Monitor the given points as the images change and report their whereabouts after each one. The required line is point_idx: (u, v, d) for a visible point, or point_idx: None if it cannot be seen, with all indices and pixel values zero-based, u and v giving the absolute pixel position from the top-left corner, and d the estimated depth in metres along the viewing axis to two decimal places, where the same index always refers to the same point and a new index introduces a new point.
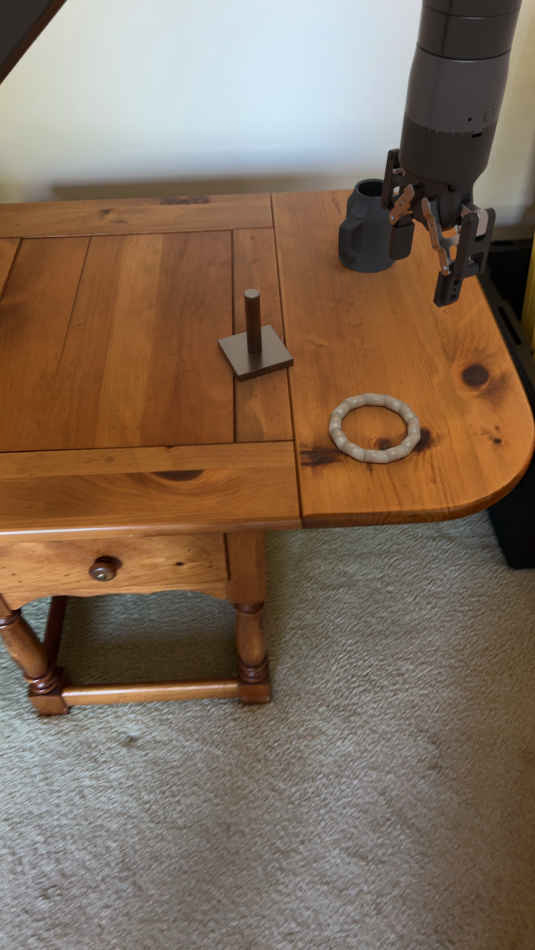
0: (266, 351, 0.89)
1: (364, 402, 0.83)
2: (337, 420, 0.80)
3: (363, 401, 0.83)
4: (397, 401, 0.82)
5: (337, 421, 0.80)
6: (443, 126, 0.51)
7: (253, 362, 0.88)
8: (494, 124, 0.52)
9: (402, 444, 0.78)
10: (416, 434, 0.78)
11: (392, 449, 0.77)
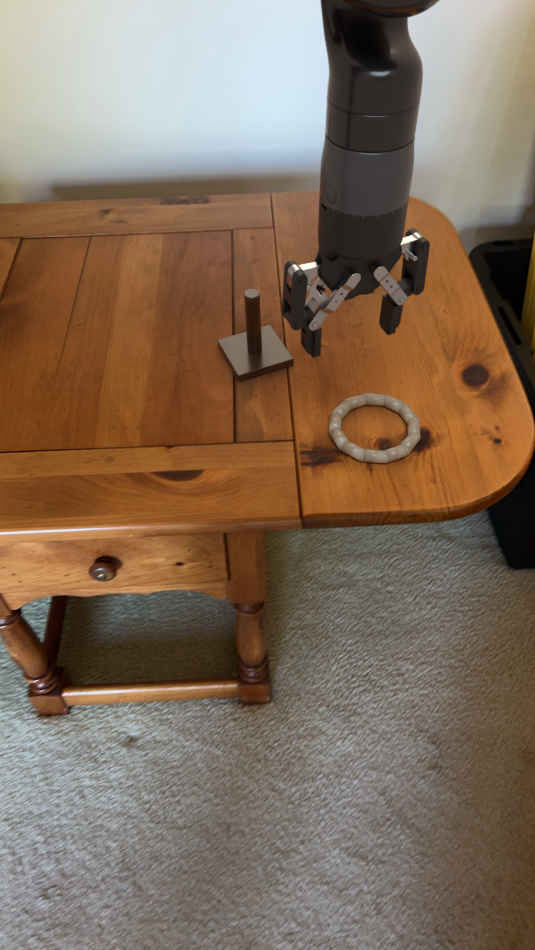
0: (266, 351, 0.89)
1: (364, 402, 0.83)
2: (337, 420, 0.80)
3: (363, 401, 0.83)
4: (397, 401, 0.82)
5: (337, 421, 0.80)
6: None
7: (253, 362, 0.88)
8: (340, 213, 0.54)
9: (402, 444, 0.78)
10: (416, 434, 0.78)
11: (392, 449, 0.77)
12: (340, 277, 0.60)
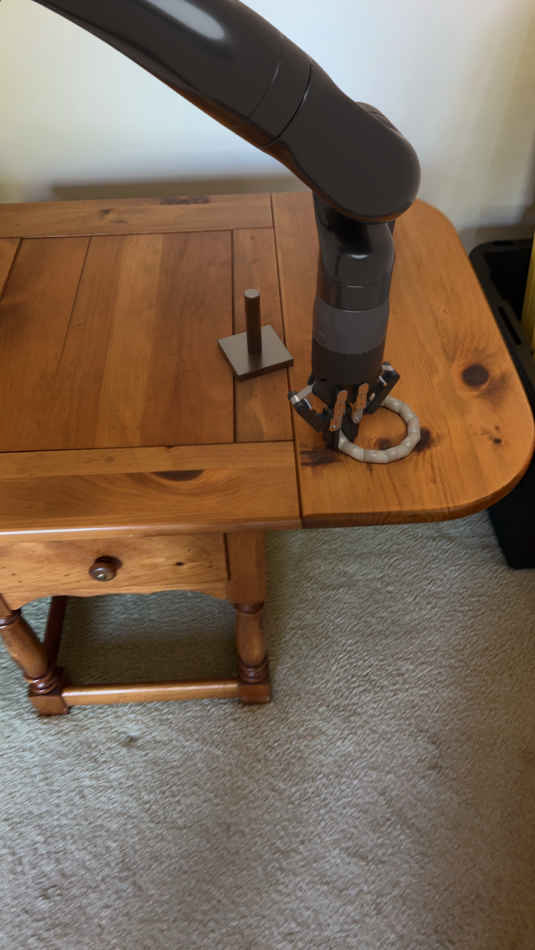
0: (266, 351, 0.89)
1: None
2: None
3: None
4: (397, 401, 0.82)
5: None
6: None
7: (253, 362, 0.88)
8: (329, 350, 0.65)
9: (402, 444, 0.78)
10: (416, 434, 0.78)
11: (392, 449, 0.77)
12: (330, 393, 0.71)
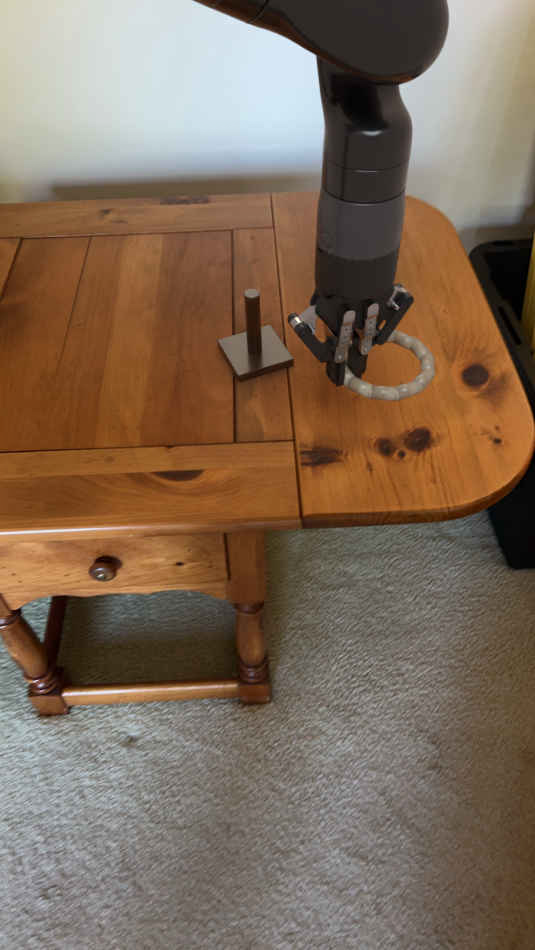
0: (266, 351, 0.89)
1: None
2: None
3: None
4: (409, 336, 0.74)
5: None
6: None
7: (253, 362, 0.88)
8: (335, 257, 0.57)
9: (415, 380, 0.70)
10: (430, 370, 0.70)
11: (404, 385, 0.69)
12: (335, 314, 0.63)
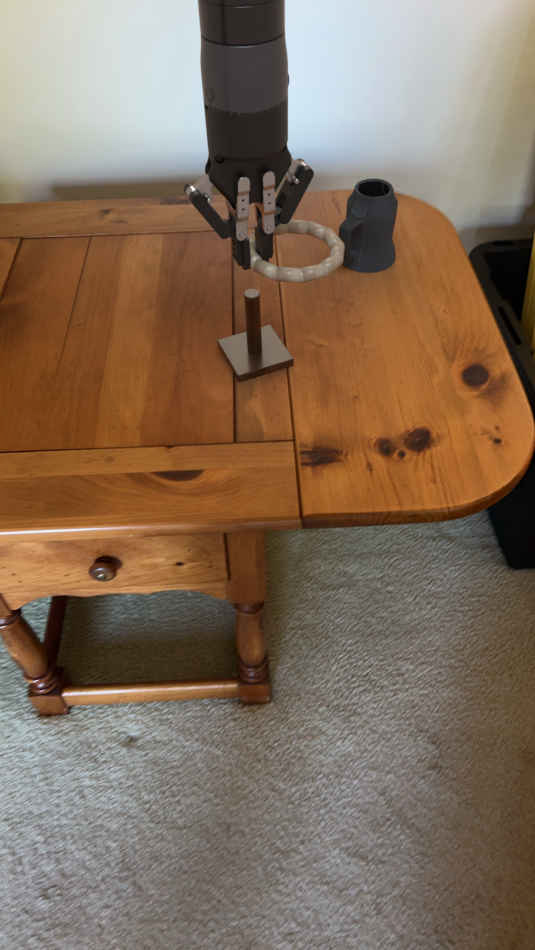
0: (266, 351, 0.89)
1: (285, 228, 0.75)
2: (252, 241, 0.72)
3: (284, 227, 0.74)
4: (321, 226, 0.74)
5: (252, 241, 0.72)
6: None
7: (253, 362, 0.88)
8: (218, 111, 0.56)
9: (321, 263, 0.69)
10: (338, 255, 0.70)
11: (309, 267, 0.69)
12: (230, 182, 0.62)
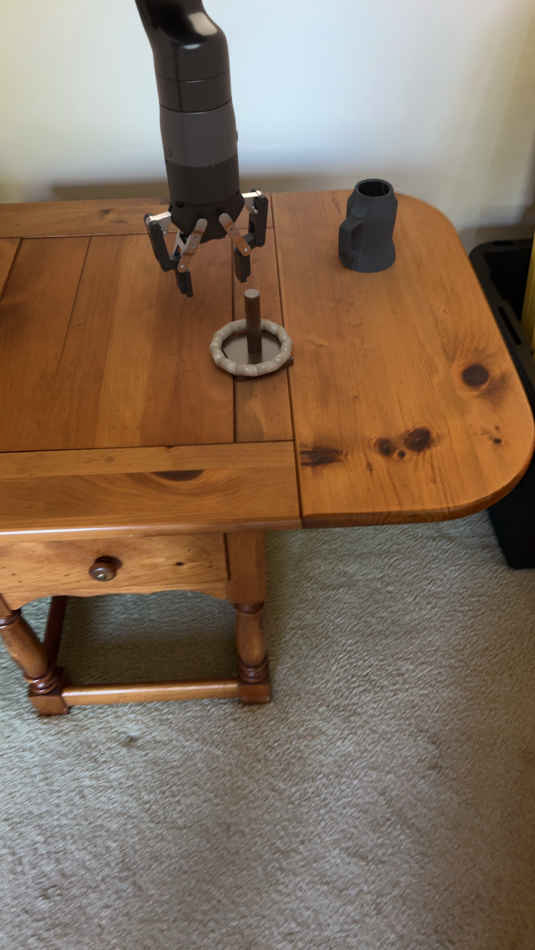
0: (266, 351, 0.89)
1: (245, 326, 0.91)
2: (217, 340, 0.88)
3: (244, 325, 0.91)
4: (274, 324, 0.90)
5: (217, 340, 0.88)
6: None
7: (253, 362, 0.88)
8: (176, 165, 0.65)
9: (272, 359, 0.86)
10: (286, 352, 0.87)
11: (262, 363, 0.85)
12: (190, 223, 0.71)
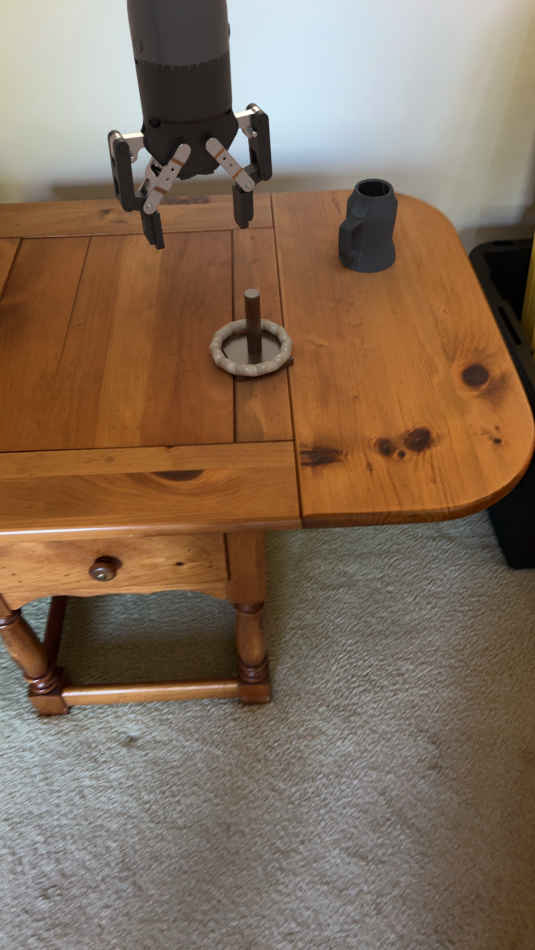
0: (266, 351, 0.89)
1: (245, 326, 0.91)
2: (217, 340, 0.88)
3: (244, 325, 0.91)
4: (274, 324, 0.90)
5: (217, 340, 0.88)
6: None
7: (253, 362, 0.88)
8: (149, 64, 0.49)
9: (272, 359, 0.86)
10: (286, 352, 0.87)
11: (262, 363, 0.85)
12: (169, 150, 0.55)
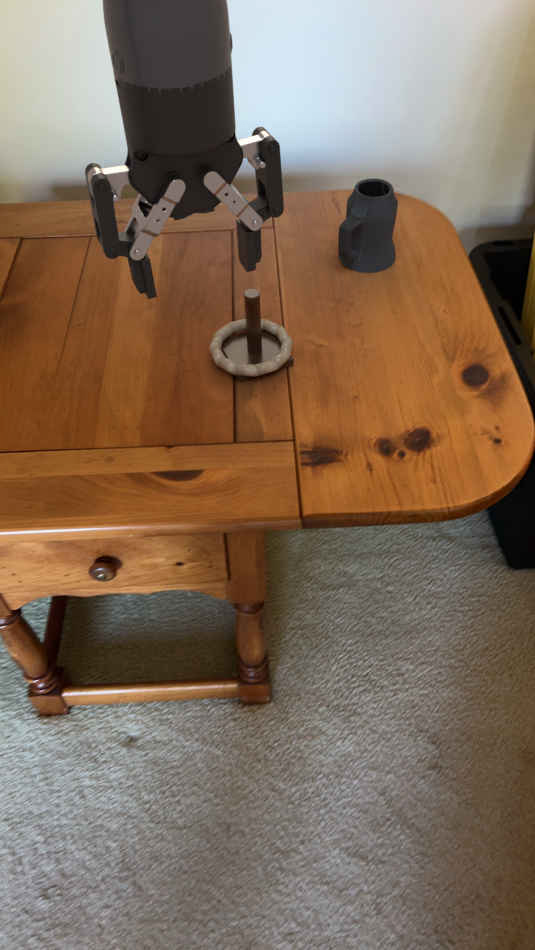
0: (266, 351, 0.89)
1: (245, 326, 0.91)
2: (217, 340, 0.88)
3: (244, 325, 0.91)
4: (274, 324, 0.90)
5: (217, 340, 0.88)
6: None
7: (253, 362, 0.88)
8: (132, 87, 0.40)
9: (272, 359, 0.86)
10: (286, 352, 0.87)
11: (262, 363, 0.85)
12: (159, 186, 0.46)
